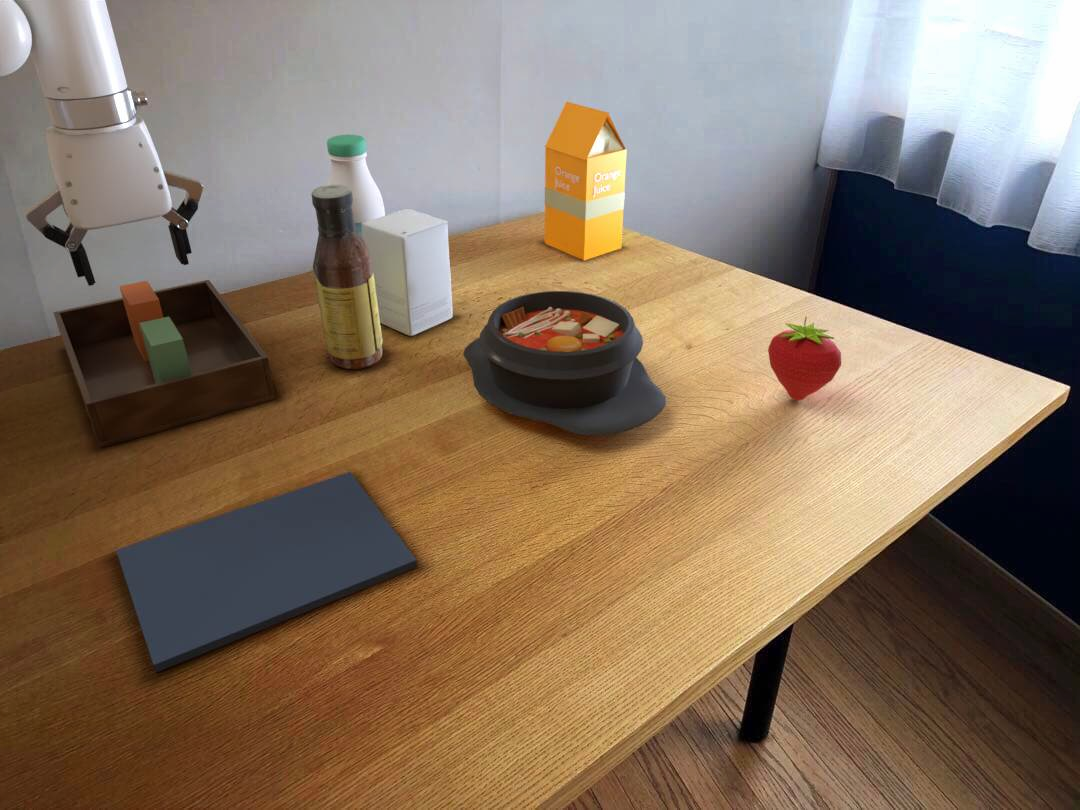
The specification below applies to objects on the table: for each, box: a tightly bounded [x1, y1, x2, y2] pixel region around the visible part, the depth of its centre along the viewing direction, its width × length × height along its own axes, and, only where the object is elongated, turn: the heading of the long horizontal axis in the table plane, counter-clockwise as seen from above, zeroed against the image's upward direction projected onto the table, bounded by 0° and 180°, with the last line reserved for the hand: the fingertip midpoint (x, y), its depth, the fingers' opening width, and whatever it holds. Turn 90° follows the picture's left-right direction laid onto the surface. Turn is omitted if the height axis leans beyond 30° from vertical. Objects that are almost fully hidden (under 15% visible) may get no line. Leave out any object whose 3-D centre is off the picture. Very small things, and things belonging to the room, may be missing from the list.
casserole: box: [462, 290, 667, 437], centre depth 90 cm, size 25×19×8 cm
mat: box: [115, 471, 418, 673], centre depth 69 cm, size 20×14×1 cm
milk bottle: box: [326, 134, 386, 240], centre depth 109 cm, size 8×8×20 cm
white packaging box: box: [362, 208, 454, 337], centre depth 104 cm, size 7×7×13 cm
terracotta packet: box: [119, 280, 163, 362], centre depth 97 cm, size 3×6×7 cm, turn 33°
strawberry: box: [767, 315, 842, 401], centre depth 88 cm, size 6×8×10 cm
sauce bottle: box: [311, 185, 384, 370], centre depth 93 cm, size 6×6×20 cm
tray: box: [52, 279, 277, 449], centre depth 94 cm, size 17×23×5 cm
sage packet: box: [139, 317, 191, 383], centre depth 89 cm, size 3×6×7 cm, turn 32°
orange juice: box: [544, 101, 628, 261], centre depth 123 cm, size 8×9×20 cm
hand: (137, 270), depth 94 cm, fingers open, 9 cm apart
